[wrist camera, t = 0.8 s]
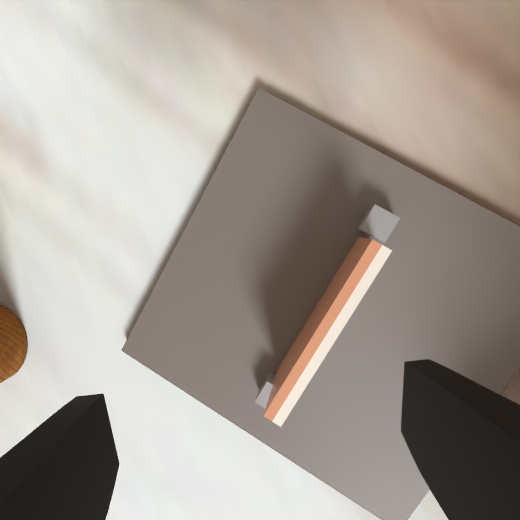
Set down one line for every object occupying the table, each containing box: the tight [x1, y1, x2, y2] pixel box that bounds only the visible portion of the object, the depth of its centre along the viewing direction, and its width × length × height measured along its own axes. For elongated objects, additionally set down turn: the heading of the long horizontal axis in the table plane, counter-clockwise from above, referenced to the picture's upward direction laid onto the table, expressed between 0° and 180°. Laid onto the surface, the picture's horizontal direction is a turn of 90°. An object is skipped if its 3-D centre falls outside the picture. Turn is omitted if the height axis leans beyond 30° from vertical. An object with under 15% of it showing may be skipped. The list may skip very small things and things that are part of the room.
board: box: [121, 88, 520, 520], centre depth 22 cm, size 22×20×3 cm
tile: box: [263, 237, 392, 427], centre depth 20 cm, size 1×10×6 cm, turn 150°
